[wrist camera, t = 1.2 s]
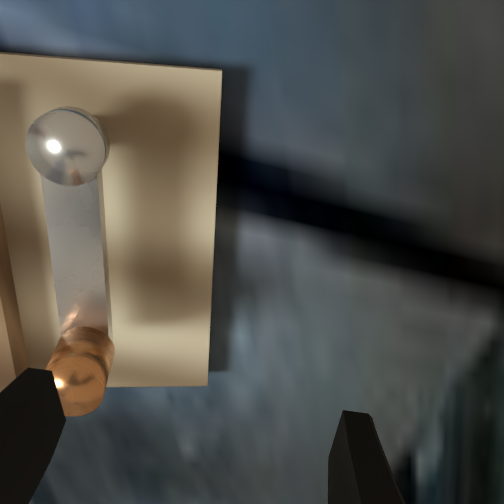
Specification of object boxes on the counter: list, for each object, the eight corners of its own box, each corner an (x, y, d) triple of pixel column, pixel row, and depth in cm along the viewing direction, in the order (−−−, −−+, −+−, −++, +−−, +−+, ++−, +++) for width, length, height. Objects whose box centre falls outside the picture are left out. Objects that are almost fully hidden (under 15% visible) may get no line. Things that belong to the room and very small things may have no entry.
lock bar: (121, 357, 19) (108, 415, 16) (63, 357, 19) (38, 417, 16) (107, 108, 15) (84, 127, 12) (31, 103, 15) (-12, 122, 12)
